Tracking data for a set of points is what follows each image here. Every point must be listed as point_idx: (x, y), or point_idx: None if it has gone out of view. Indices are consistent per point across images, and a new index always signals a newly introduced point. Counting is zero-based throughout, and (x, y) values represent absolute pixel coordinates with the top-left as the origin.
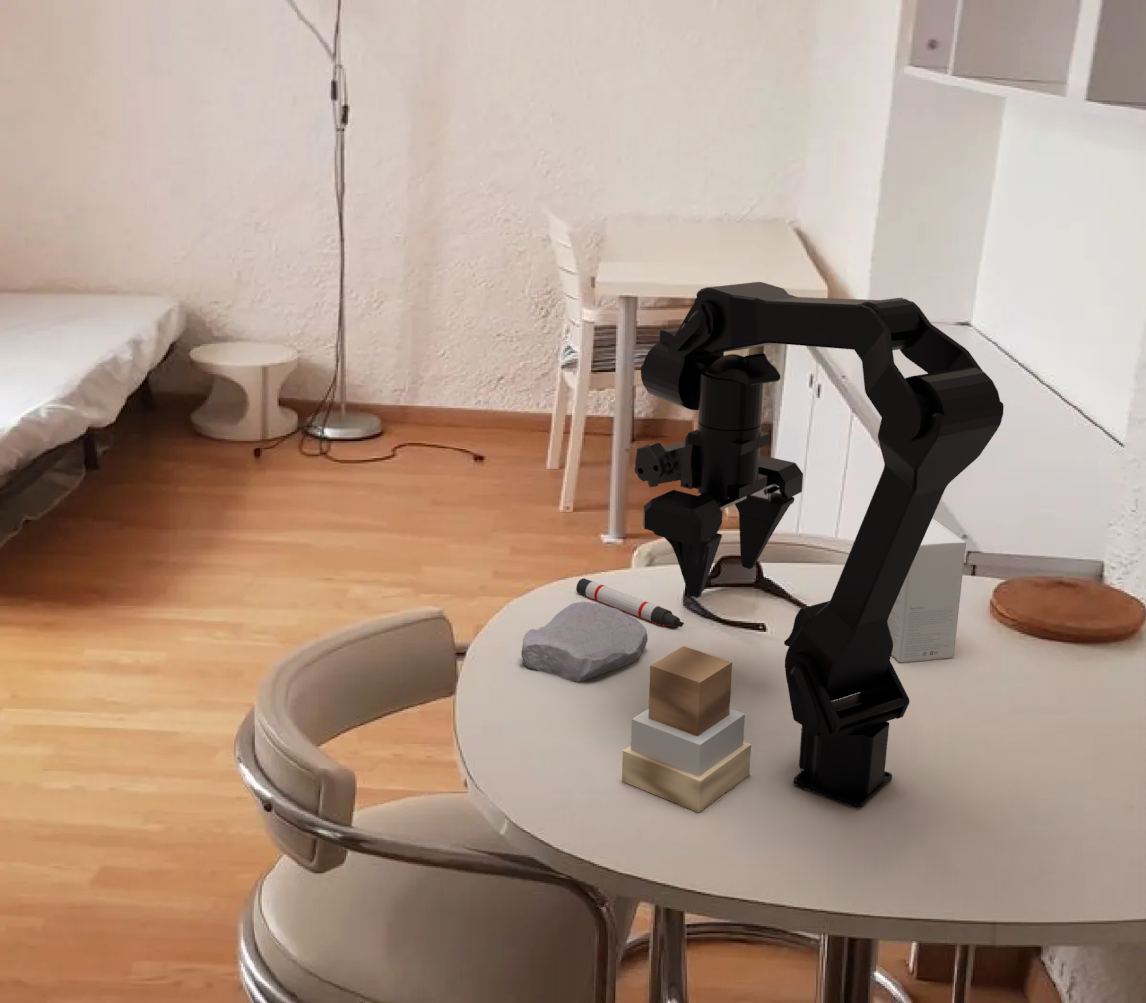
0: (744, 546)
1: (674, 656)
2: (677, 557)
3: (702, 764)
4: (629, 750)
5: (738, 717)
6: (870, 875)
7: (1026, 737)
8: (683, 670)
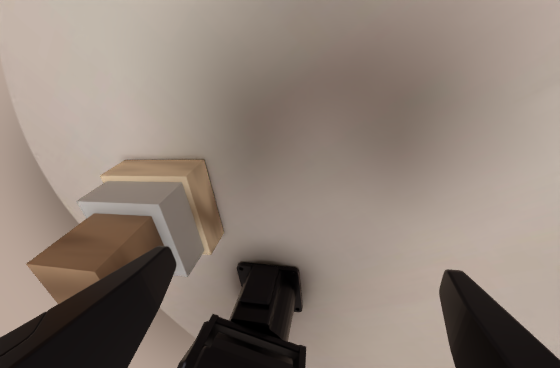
0: (477, 346)
1: (67, 275)
2: (11, 335)
3: None
4: (105, 180)
5: (177, 274)
6: (200, 318)
7: (443, 360)
8: (63, 295)
